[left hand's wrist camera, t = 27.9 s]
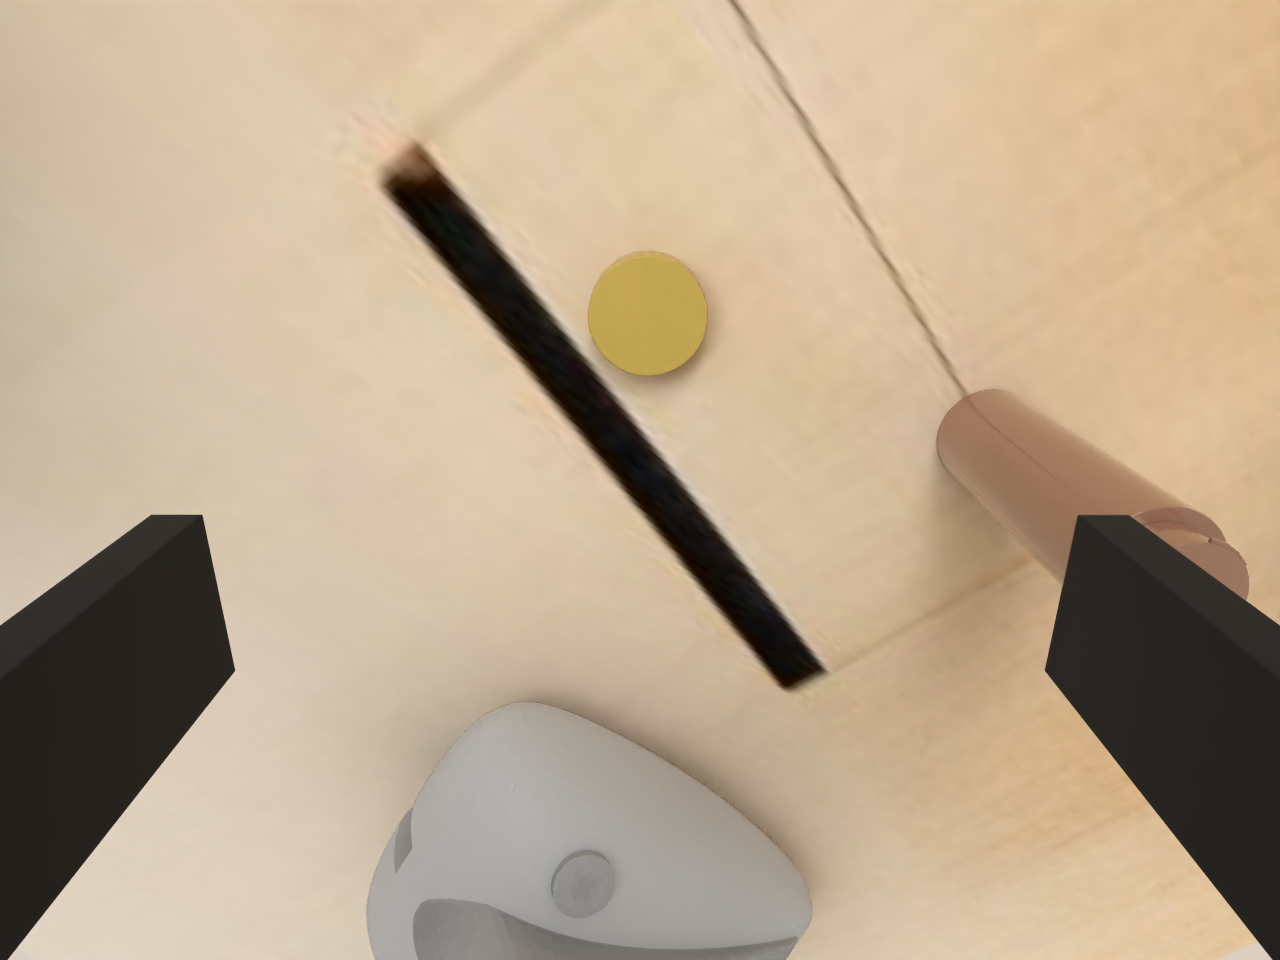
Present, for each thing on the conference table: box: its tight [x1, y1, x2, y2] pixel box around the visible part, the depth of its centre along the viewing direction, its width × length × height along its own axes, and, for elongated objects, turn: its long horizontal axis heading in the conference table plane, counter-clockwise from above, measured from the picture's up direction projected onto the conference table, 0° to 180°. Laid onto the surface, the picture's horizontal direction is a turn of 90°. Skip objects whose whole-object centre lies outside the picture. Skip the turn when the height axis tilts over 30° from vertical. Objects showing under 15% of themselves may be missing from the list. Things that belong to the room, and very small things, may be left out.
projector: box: [366, 702, 812, 960], centre depth 40 cm, size 22×23×15 cm
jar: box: [937, 390, 1249, 600], centre depth 32 cm, size 5×5×15 cm
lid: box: [588, 251, 708, 376], centre depth 36 cm, size 5×5×2 cm
